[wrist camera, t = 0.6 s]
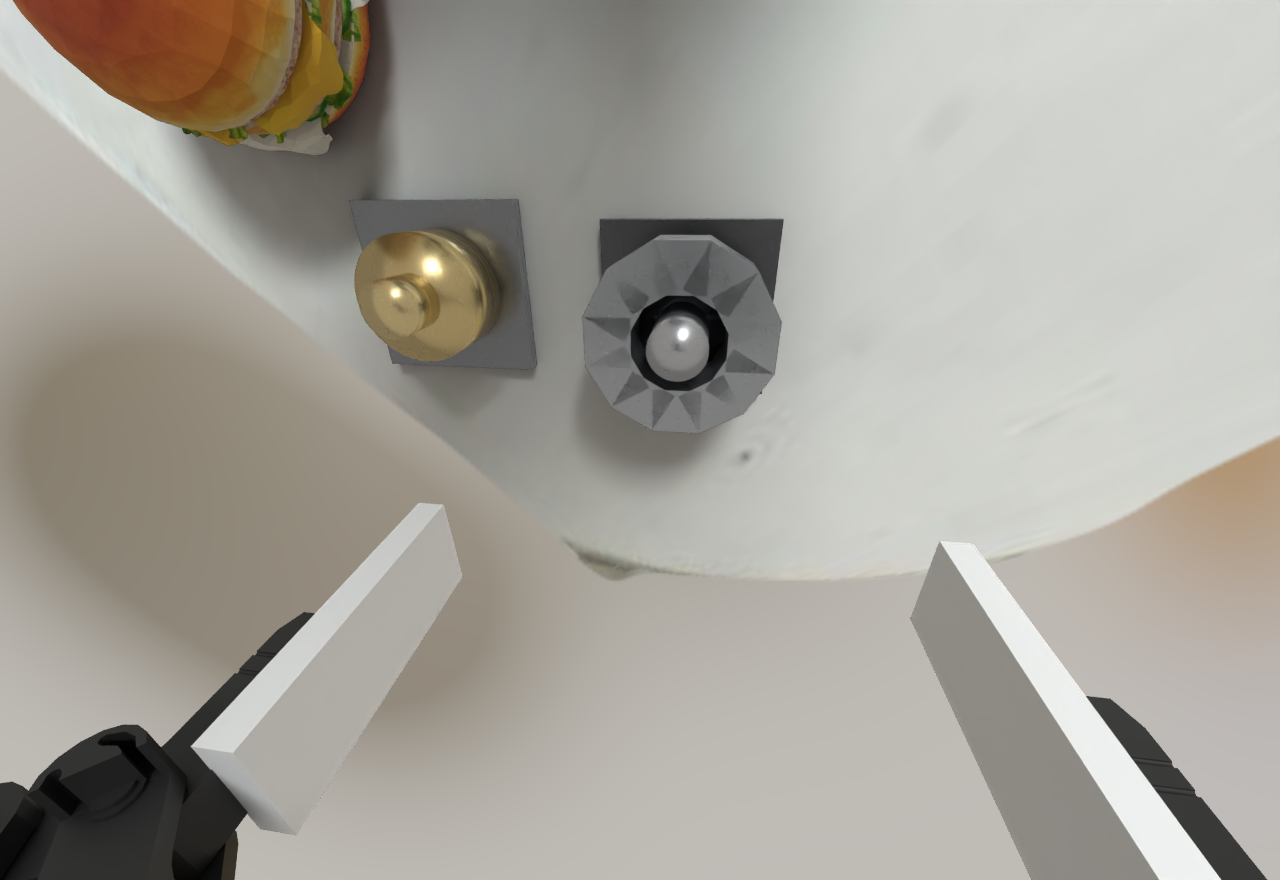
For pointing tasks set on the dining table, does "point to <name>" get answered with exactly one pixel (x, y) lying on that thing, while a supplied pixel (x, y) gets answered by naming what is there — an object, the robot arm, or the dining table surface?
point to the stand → (684, 324)
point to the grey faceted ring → (681, 272)
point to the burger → (219, 62)
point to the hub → (445, 281)
